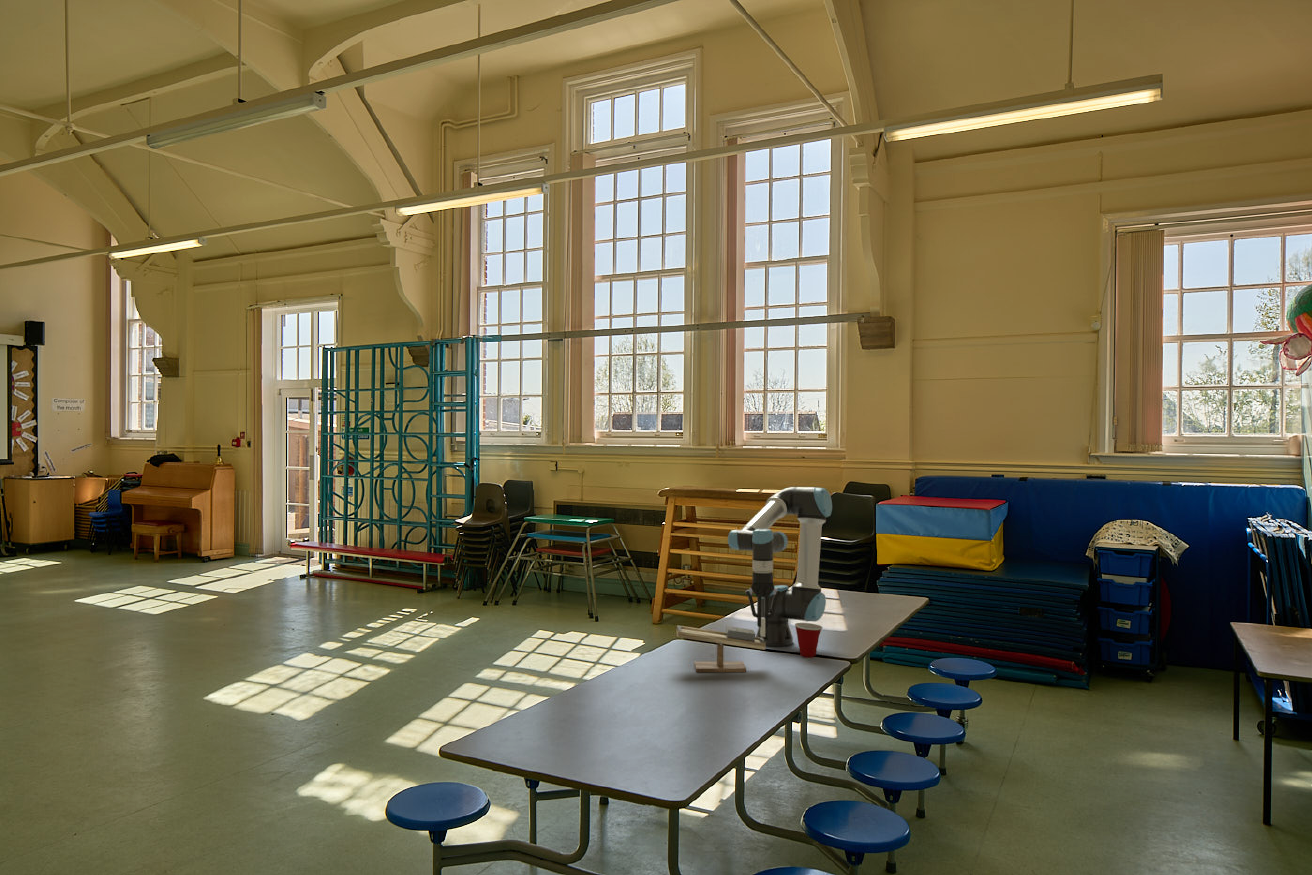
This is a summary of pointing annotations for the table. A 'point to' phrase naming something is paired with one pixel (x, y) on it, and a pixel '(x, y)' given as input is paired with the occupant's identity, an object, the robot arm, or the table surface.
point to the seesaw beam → (717, 637)
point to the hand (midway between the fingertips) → (762, 635)
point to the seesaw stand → (720, 664)
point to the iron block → (740, 633)
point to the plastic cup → (808, 638)
